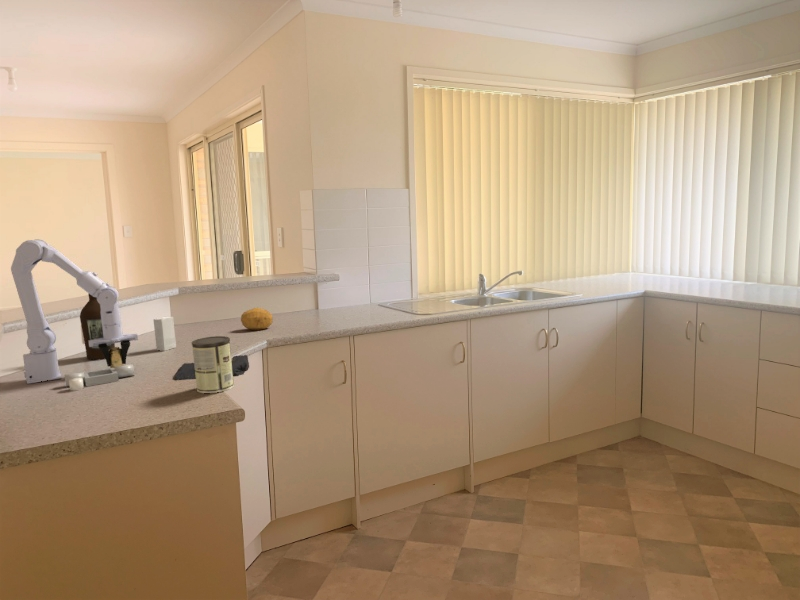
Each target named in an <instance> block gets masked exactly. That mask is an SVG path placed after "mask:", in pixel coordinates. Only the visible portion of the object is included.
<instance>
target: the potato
mask: <svg viewBox="0 0 800 600" xmlns="http://www.w3.org/2000/svg"><path fill="white" fill-rule="evenodd" d="M240 317H241V318H240V322H241V325H242V326H243V327H244V328H246V329H248V330H251V331H260V330H265V329H267V328H269V327H270V326H271V325H272V323H274V322H273V319H274V318H273V315H272V313H271V312H269V310H267V309H264V308H260V307H254V308H251V309H248V310H246V311H244V312H243V313H242V314H241V315H240Z"/></svg>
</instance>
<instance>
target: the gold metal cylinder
mask: <svg viewBox="0 0 800 600" xmlns="http://www.w3.org/2000/svg"><path fill="white" fill-rule="evenodd" d="M108 354H109V360H110V366H109V368H115V367H117V366H123V365H124V364H123V357H122V349H121V347H119V346H115V347H113V348H110V350H108Z"/></svg>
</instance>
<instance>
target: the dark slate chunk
mask: <svg viewBox="0 0 800 600" xmlns="http://www.w3.org/2000/svg"><path fill="white" fill-rule="evenodd" d="M231 361H232V371H233V378H234V377H239V376H243V375H244V374H245V372H247V371H248V370H249V369H250V362H249V356H248V354H244V355H234V356H232V357H231ZM173 378H174V381H184V380H196V374H195V365H194V362H189V363H188V362H187V363H186V362H184V363H183V364H182V365H181V366H180V367H178V369H177V371H176V372H175V375H174V377H173Z"/></svg>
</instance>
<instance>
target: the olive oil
mask: <svg viewBox="0 0 800 600" xmlns="http://www.w3.org/2000/svg"><path fill="white" fill-rule="evenodd" d="M87 295H88V302H86V304H85V305H84V306H83V308H82V309H81V310H80V314H79V320H80V325H81V331H82V336H83V341H84V342H83V343H84V347H85V353H86V354H85V355H86V359H87V358H88V359H100V360H105V359H104V358H105V357H104V355H103V353H102V351H101V350H100V348H99V347H98V346H93V347H89V341H88V340H94V339H99V338H104V337H103V329H102V321H101V313H100V311H101V308H100V304H99V303H98V301H97V297H93V296H92V295H90V294H89V293H88V294H87ZM111 342H113V341H111ZM115 344H116V343H112V344H107V347H108V350H110V348H113V347H116V345H115ZM88 359H87V360H88Z"/></svg>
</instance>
